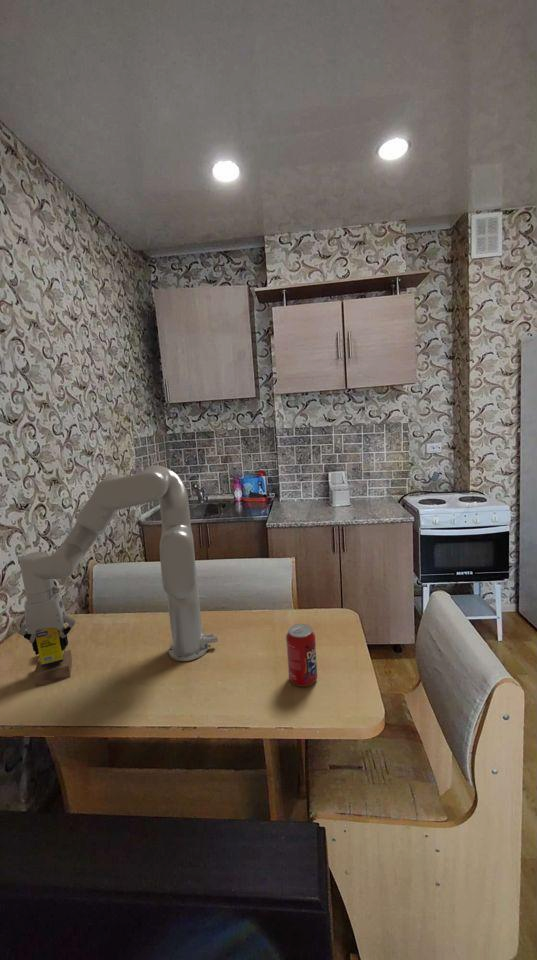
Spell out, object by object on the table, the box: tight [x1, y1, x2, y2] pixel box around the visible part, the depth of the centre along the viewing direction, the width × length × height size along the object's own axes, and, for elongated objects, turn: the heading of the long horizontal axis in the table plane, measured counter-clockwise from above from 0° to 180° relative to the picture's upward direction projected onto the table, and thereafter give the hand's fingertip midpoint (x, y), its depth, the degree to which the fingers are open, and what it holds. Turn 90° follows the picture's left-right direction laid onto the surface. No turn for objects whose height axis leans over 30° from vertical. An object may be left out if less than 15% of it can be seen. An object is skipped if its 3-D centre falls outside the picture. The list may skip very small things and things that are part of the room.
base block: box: [33, 649, 73, 687], centre depth 126 cm, size 9×9×4 cm
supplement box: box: [35, 628, 66, 667], centre depth 124 cm, size 6×6×11 cm
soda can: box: [285, 623, 318, 687], centre depth 114 cm, size 8×8×15 cm
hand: (51, 649), depth 125 cm, fingers closed on supplement box, 6 cm apart
